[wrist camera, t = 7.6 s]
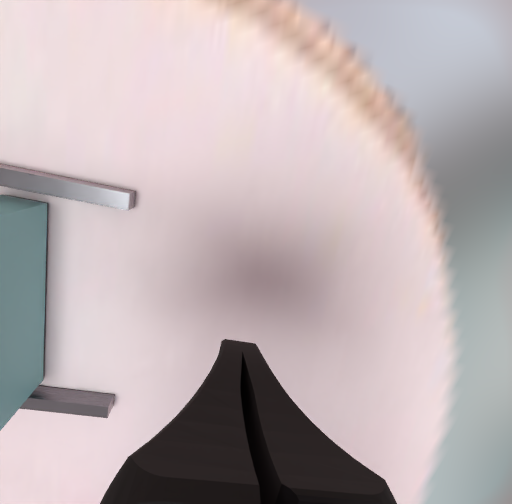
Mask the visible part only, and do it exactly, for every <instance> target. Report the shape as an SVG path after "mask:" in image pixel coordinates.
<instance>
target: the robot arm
mask: <svg viewBox="0 0 512 504" xmlns="http://www.w3.org/2000/svg"><path fill="white" fill-rule="evenodd" d="M100 504H397V503H396V501H395V499H394V496H393V495H392V493H391V491H390V489H389V487H388V485H387V483H386V481H385V480H384V479H383V478H381V477H380V476H378V475H377V474H375V473H374V472H373V471H371V470H370V469H368V468H367V467H365V466H364V465H362V464H361V463H360V462H358V461H357V460H355V459H354V458H353V457H351V456H350V455H349V454H348V453H346V452H345V451H344V450H343V449H341V448H340V447H339V446H338V445H336V444H335V443H334V442H333V441H332V440H331V439H329V438H328V437H327V436H326V435H325V434H324V433H323V432H322V431H321V430H320V429H319V428H318V427H317V426H315V425H314V424H313V423H312V422H311V421H310V420H309V419H308V417H307V416H306V415H305V414H304V413H303V412H302V411H301V410H300V409H299V408H298V406H297V405H296V404H295V403H294V402H293V401H292V399H291V398H290V397H289V396H288V394H287V393H286V392H285V390H284V389H283V387H282V386H281V385H280V383H279V382H278V380H277V379H276V377H275V376H274V374H273V373H272V371H271V369H270V368H269V366H268V364H267V363H266V361H265V359H264V358H263V356H262V354H261V352H260V350H259V349H258V347H257V345H256V344H254V343H247V342H241V341H234V340H227V339H225V340H223V341H222V342H221V347H220V351H219V355H218V357H217V359H216V361H215V363H214V365H213V367H212V369H211V371H210V373H209V374H208V376H207V377H206V379H205V380H204V382H203V384H202V385H201V387H200V388H199V389H198V391H197V392H196V393H195V395H194V396H193V397H192V399H191V400H190V401H189V402H188V403H187V405H186V406H185V407H184V408H183V409H182V410H181V411H180V413H179V414H178V415H177V416H176V417H175V418H174V419H173V420H172V421H171V422H170V423H169V424H168V425H167V426H165V427H164V428H163V429H162V430H161V431H160V432H159V433H158V434H157V435H156V436H155V437H153V438H152V439H151V440H150V441H149V442H147V443H146V444H145V445H143V446H142V447H141V448H139V449H138V450H137V451H136V452H134V453H133V454H132V455H130V456H129V457H128V458H127V460H126V461H125V463H124V464H123V466H122V467H121V469H120V470H119V472H118V473H117V475H116V476H115V478H114V480H113V481H112V483H111V484H110V486H109V488H108V490H107V491H106V493H105V495H104V497H103V499H102V501H101V503H100Z"/></svg>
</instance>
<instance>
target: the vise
mask: <svg viewBox="0 0 512 504" xmlns="http://www.w3.org/2000/svg"><path fill="white" fill-rule="evenodd" d="M0 186H4V187H10V188H15V189H20V190H25V191H30V192H35V193H40V194H45V195H51V196H56V197H61V198H66V199H71V200H76V201H81V202H87V203H92V204H97V205H102V206H107V207H112V208H117V209H123V210H130V209H132V208H134V204H135V194H136V191H132V190H127V189H122V188H117V187H112V186H107V185H102V184H97V183H92V182H87V181H83V180H78V179H73V178H68V177H63V176H58V175H53V174H48V173H43V172H38V171H33V170H28V169H24V168H19V167H14V166H9V165H4V164H0ZM113 404H114V395H113V394H104V393H96V392H88V391H79V390H71V389H62V388H54V387H46V386H38V387H37V388H36V389H35V390H34V391H33V392H32V394H31V395H30V396H29V397H28V398H27V400H26V401H25V402H24V403H23V404H22V406H21V407H20V409H30V410H39V411H48V412H57V413H66V414H75V415H84V416H94V417H103V418H108V416H109V413H110V411H111V409H112V407H113Z"/></svg>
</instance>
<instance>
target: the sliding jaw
mask: <svg viewBox="0 0 512 504" xmlns="http://www.w3.org/2000/svg"><path fill="white" fill-rule="evenodd" d="M46 237H47V203H43V202H38V201H33V200H28V199H22V198H17V197H12V196H7V195H0V430H1V429H2V428H3V427H4V426H5V425H6V423H7V422H8V421H9V420H10V419H11V417H12V416H13V415H14V414H15V413H16V411H17V410H18V409H19V408H20V407H21V406H22V404H23V403H24V402H25V401H26V400H27V398H28V397H29V396H30V395H31V394H32V392H33V391H34V390H35V389H36V388H37V387H38V385H39V384H40V383H41V382H42V381H43V364H44V322H45V280H46Z"/></svg>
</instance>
